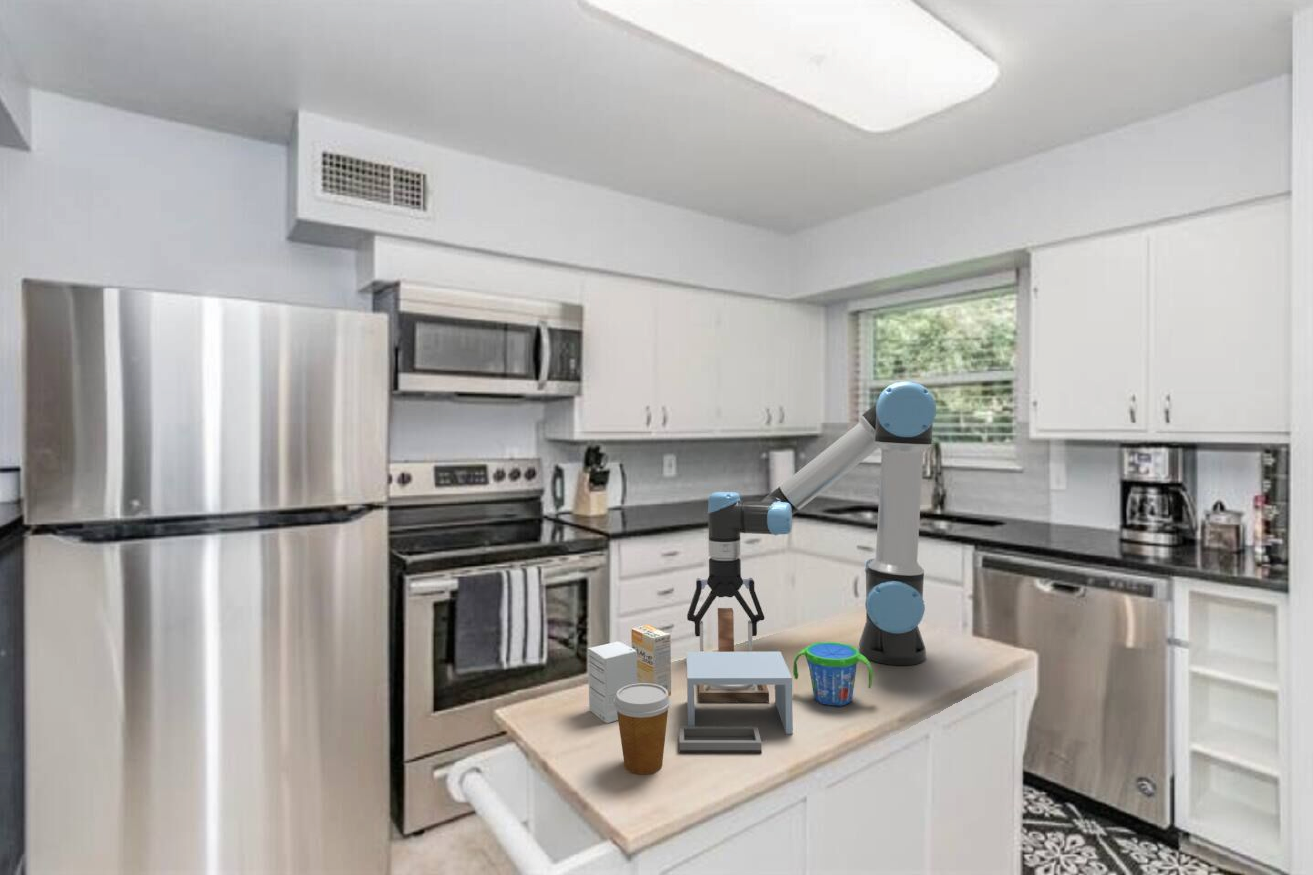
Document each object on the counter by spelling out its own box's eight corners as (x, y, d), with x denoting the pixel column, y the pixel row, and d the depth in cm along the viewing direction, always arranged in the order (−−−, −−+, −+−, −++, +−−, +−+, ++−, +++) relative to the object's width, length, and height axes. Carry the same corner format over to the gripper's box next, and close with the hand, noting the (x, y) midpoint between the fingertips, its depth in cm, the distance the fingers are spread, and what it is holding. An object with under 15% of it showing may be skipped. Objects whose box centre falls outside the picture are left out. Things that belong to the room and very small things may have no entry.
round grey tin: (731, 705, 134) (730, 688, 134) (698, 690, 142) (697, 674, 141) (765, 692, 140) (765, 676, 140) (731, 678, 148) (731, 663, 148)
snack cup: (787, 702, 134) (786, 651, 134) (802, 683, 144) (802, 636, 143) (866, 717, 127) (866, 664, 127) (877, 697, 136) (877, 647, 136)
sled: (754, 657, 160) (754, 607, 160) (769, 702, 134) (768, 643, 134) (696, 657, 161) (695, 608, 160) (699, 702, 135) (698, 643, 135)
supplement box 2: (630, 688, 142) (629, 627, 142) (649, 683, 145) (647, 623, 145) (653, 701, 136) (652, 637, 136) (672, 695, 139) (671, 632, 138)
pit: (757, 736, 120) (757, 726, 120) (761, 752, 114) (761, 742, 114) (679, 736, 120) (679, 726, 120) (679, 752, 114) (679, 742, 114)
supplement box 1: (620, 701, 136) (619, 640, 136) (639, 714, 130) (638, 650, 129) (588, 710, 132) (586, 647, 132) (605, 724, 126) (604, 657, 125)
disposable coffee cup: (645, 745, 117) (644, 677, 117) (684, 764, 110) (682, 692, 110) (602, 764, 111) (601, 693, 111) (641, 786, 104) (639, 710, 104)
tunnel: (781, 701, 135) (780, 651, 134) (792, 733, 121) (792, 677, 120) (687, 701, 135) (686, 651, 135) (688, 733, 121) (687, 678, 121)
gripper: (675, 561, 155) (676, 654, 156) (776, 560, 154) (777, 654, 155) (675, 554, 163) (677, 644, 163) (771, 553, 162) (773, 643, 162)
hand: (725, 649), depth 159 cm, fingers open, 11 cm apart
